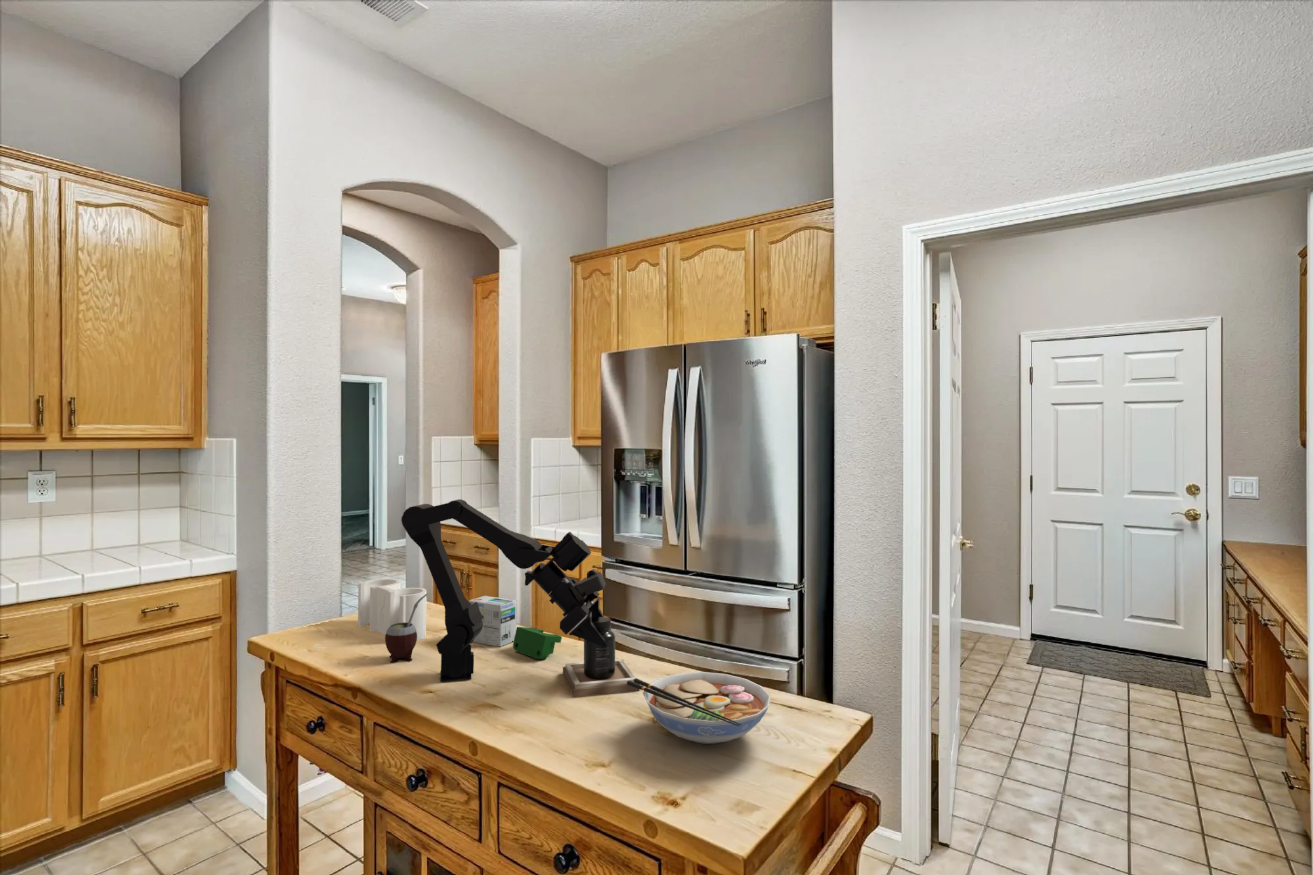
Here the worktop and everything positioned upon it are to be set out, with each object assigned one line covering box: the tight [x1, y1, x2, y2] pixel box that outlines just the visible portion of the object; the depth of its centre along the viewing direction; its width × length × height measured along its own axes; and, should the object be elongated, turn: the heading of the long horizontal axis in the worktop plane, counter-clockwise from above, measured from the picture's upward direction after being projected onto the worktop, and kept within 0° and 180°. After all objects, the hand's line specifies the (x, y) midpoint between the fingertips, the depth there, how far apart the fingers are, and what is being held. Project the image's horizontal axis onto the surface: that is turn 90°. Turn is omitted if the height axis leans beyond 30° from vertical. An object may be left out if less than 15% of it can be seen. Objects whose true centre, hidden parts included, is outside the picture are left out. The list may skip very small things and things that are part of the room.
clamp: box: [512, 626, 562, 660], centre depth 161 cm, size 12×6×9 cm, turn 42°
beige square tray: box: [562, 658, 641, 698], centre depth 142 cm, size 14×14×2 cm
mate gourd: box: [384, 593, 428, 664], centre depth 155 cm, size 8×8×15 cm
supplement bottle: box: [583, 616, 616, 679], centre depth 142 cm, size 7×7×12 cm
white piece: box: [357, 578, 428, 642], centre depth 177 cm, size 25×10×12 cm, turn 49°
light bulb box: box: [469, 595, 517, 647], centre depth 169 cm, size 11×7×11 cm, turn 65°
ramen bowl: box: [627, 671, 771, 745], centre depth 117 cm, size 25×23×8 cm
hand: (607, 637), depth 142 cm, fingers open, 9 cm apart
